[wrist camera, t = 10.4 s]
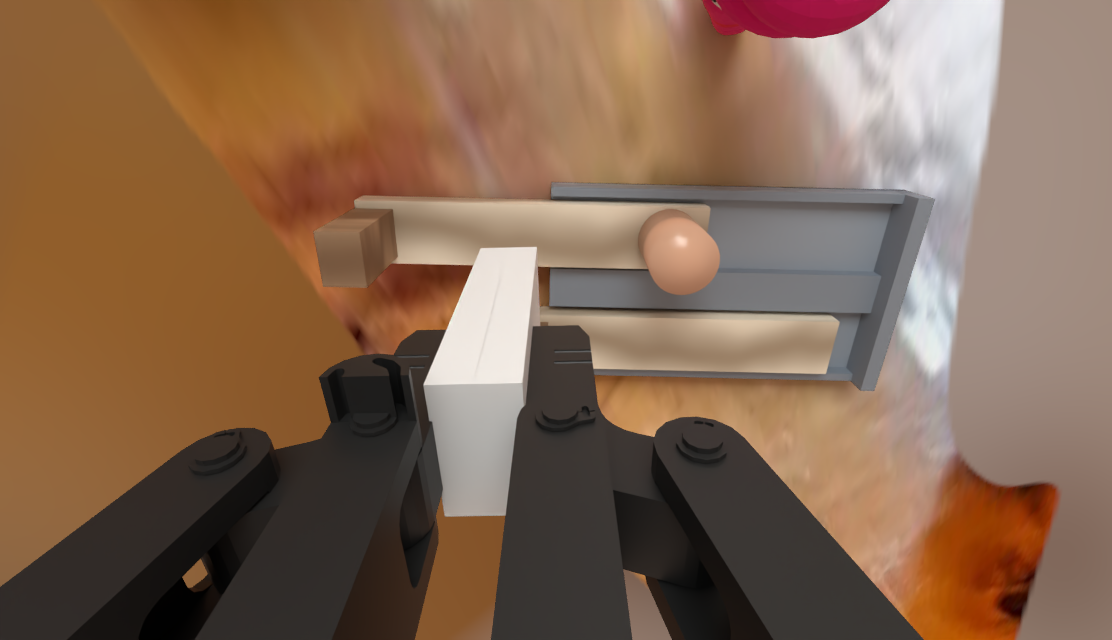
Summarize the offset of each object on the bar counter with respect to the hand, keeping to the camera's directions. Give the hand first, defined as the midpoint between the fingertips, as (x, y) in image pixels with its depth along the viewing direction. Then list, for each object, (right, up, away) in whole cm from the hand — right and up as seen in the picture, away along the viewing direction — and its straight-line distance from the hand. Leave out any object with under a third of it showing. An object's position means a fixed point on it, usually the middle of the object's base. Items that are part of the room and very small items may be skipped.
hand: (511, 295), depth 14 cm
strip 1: (0, +6, +21) cm, 22 cm away
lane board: (+13, +2, +24) cm, 27 cm away
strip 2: (+10, -2, +25) cm, 27 cm away
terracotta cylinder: (+9, +5, +20) cm, 22 cm away
